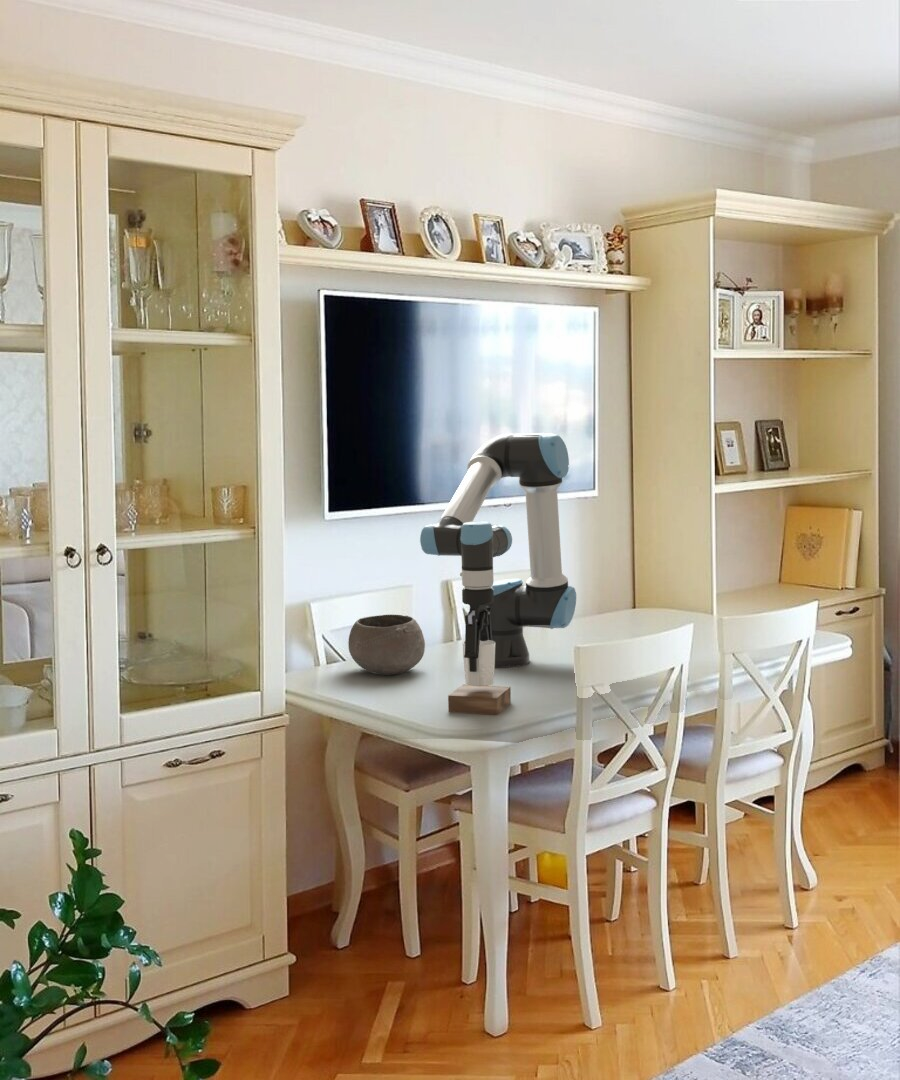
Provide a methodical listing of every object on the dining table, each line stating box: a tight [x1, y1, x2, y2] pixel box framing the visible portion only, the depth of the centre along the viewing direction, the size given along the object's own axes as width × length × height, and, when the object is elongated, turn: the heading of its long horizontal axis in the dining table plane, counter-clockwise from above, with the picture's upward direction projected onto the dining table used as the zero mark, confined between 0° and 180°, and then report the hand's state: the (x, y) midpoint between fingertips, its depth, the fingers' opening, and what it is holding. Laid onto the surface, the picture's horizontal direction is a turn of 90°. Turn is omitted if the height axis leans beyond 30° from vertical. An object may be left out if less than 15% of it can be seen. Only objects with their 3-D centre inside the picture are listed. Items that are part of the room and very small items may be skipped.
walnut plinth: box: [447, 683, 512, 716], centre depth 302 cm, size 12×12×4 cm
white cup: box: [462, 640, 496, 686], centre depth 301 cm, size 8×8×10 cm
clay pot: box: [347, 614, 426, 676], centre depth 342 cm, size 21×21×15 cm
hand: (479, 680), depth 302 cm, fingers closed on white cup, 7 cm apart
